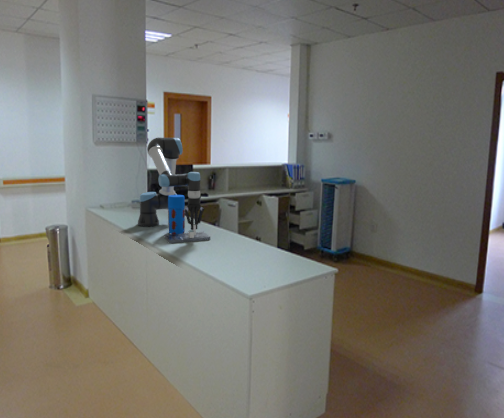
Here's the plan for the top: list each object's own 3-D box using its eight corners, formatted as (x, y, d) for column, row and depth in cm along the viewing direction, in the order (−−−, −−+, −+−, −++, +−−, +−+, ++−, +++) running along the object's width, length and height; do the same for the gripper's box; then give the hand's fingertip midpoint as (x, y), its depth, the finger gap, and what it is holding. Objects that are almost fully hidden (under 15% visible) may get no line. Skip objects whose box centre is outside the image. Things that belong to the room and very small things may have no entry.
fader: (188, 236, 251) (188, 229, 251) (192, 236, 252) (192, 229, 252) (190, 238, 248) (190, 231, 247) (193, 237, 249) (193, 230, 248)
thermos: (181, 235, 264) (180, 197, 260) (165, 233, 267) (165, 196, 262) (187, 231, 275) (186, 195, 271) (172, 230, 277) (172, 194, 273)
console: (164, 238, 255) (164, 234, 255) (203, 234, 266) (203, 231, 266) (169, 243, 242) (169, 240, 242) (210, 240, 253) (210, 237, 253)
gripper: (185, 198, 241) (185, 236, 245) (206, 197, 246) (206, 235, 250) (182, 196, 247) (182, 234, 251) (202, 196, 253) (202, 232, 257)
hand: (194, 234), depth 251 cm, fingers closed
